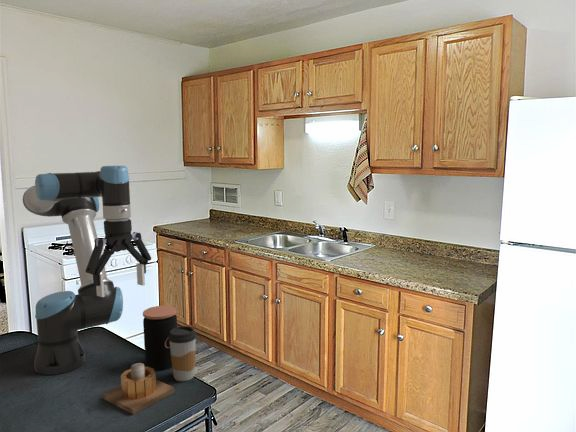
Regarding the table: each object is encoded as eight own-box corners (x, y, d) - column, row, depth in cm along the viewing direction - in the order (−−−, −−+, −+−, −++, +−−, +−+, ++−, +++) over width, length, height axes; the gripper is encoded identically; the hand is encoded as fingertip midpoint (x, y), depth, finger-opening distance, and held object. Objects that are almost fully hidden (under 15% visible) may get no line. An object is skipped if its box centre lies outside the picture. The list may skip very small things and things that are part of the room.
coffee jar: (170, 372, 146) (167, 317, 143) (139, 369, 148) (136, 315, 145) (184, 357, 156) (182, 306, 154) (155, 354, 158) (152, 304, 156)
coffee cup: (186, 367, 149) (184, 323, 146) (203, 375, 143) (201, 329, 141) (164, 377, 142) (162, 331, 140) (181, 386, 137) (179, 338, 135)
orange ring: (115, 392, 131) (114, 376, 130) (142, 379, 138) (141, 363, 137) (135, 402, 125) (134, 385, 125) (162, 388, 133) (161, 372, 132)
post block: (103, 398, 130) (101, 368, 129) (144, 378, 142) (142, 351, 140) (133, 414, 122) (131, 383, 121) (174, 392, 133) (173, 363, 132)
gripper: (83, 226, 121) (89, 304, 124) (160, 215, 141) (163, 282, 144) (68, 223, 125) (74, 298, 128) (145, 213, 145) (148, 278, 148)
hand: (121, 290), depth 136 cm, fingers open, 13 cm apart
